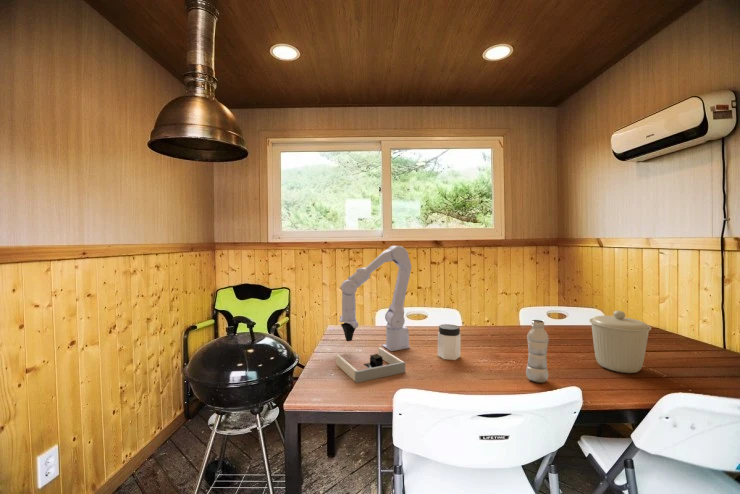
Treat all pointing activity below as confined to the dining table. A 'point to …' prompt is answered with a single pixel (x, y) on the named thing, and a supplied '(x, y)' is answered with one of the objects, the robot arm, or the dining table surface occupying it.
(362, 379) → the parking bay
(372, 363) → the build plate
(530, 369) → the plastic bottle
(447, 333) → the jar
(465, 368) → the dining table surface
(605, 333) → the canister
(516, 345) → the dining table surface
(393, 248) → the robot arm
